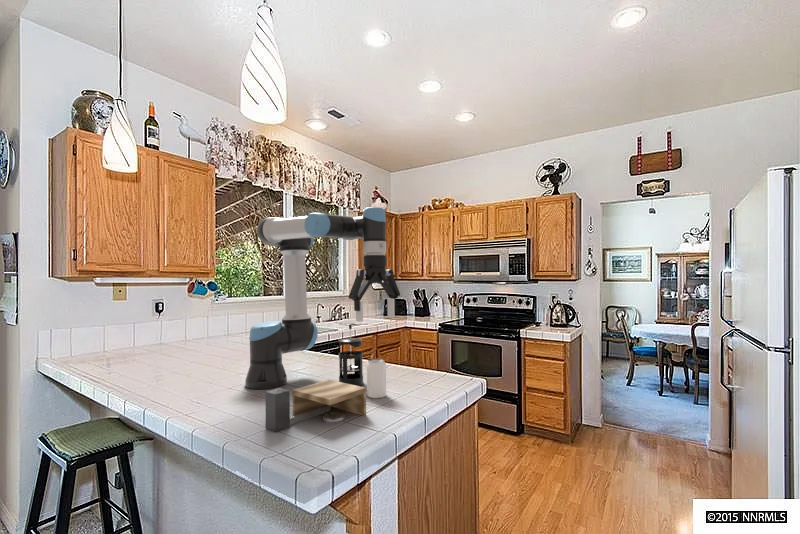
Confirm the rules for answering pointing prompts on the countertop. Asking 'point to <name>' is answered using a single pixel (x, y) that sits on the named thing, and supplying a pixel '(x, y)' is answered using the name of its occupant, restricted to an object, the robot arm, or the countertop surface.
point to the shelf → (330, 397)
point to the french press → (354, 377)
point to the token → (333, 417)
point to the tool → (285, 410)
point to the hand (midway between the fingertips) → (375, 319)
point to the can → (376, 378)
